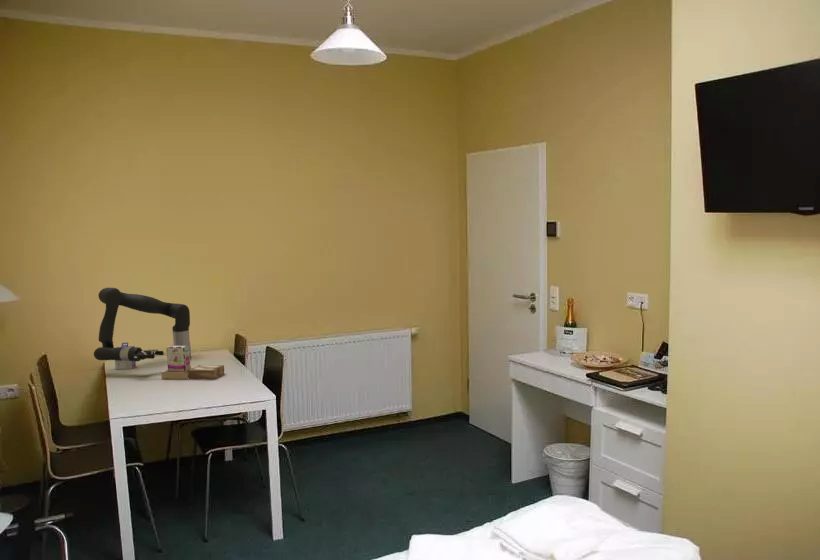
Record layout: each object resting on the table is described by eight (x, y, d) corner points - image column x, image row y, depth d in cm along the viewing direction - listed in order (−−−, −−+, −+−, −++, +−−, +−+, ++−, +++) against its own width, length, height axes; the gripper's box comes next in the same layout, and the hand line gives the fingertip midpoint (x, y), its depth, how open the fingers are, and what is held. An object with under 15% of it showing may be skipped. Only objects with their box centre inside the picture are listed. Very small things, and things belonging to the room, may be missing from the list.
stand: (200, 373, 350) (199, 364, 349) (224, 374, 347) (223, 365, 347) (188, 379, 338) (188, 370, 338) (213, 379, 336) (213, 370, 335)
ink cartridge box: (136, 366, 371) (134, 341, 370) (132, 369, 366) (130, 343, 364) (119, 367, 372) (117, 342, 370) (115, 369, 366) (113, 344, 365)
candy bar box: (191, 375, 346) (189, 345, 345) (185, 378, 342) (183, 347, 340) (173, 374, 350) (171, 344, 348) (167, 377, 345) (165, 346, 343)
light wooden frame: (173, 372, 354) (172, 365, 353) (200, 373, 351) (199, 366, 351) (159, 379, 340) (158, 372, 340) (186, 379, 337) (186, 372, 337)
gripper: (122, 349, 342) (150, 350, 339) (138, 344, 356) (165, 345, 353) (123, 363, 342) (151, 364, 340) (139, 358, 356) (166, 358, 353)
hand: (158, 354), depth 346 cm, fingers open, 8 cm apart
